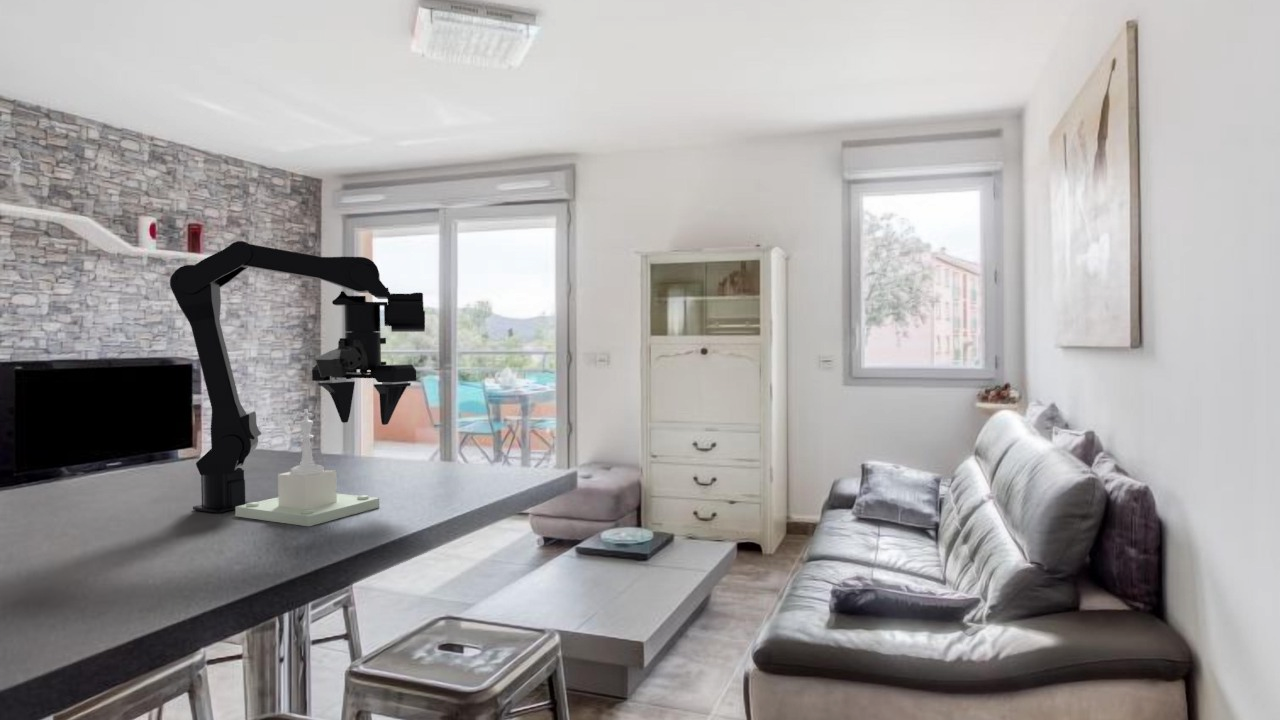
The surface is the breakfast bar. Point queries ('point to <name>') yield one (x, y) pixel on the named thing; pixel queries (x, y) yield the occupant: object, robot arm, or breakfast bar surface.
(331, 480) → the brick
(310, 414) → the chess piece
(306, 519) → the baseplate
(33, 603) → the breakfast bar surface
